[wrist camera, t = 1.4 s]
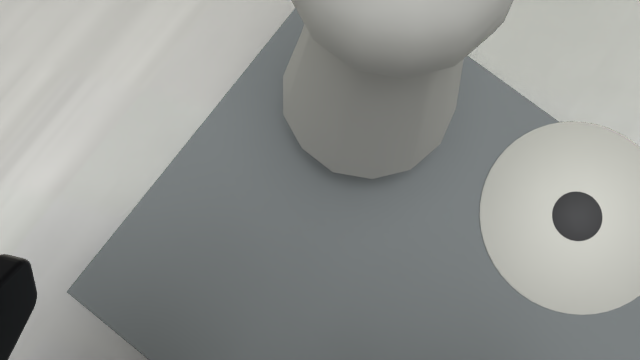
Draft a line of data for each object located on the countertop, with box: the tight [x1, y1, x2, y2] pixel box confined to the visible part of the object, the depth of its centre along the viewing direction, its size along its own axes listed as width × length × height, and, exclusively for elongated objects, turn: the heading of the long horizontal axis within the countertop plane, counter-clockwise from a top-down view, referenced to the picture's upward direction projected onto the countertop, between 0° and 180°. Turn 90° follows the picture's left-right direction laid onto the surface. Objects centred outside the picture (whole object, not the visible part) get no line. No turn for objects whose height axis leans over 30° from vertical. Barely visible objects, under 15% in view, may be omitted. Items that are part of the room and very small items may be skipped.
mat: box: [67, 8, 640, 360], centre depth 21 cm, size 17×25×1 cm
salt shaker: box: [283, 0, 513, 179], centre depth 16 cm, size 6×6×13 cm
